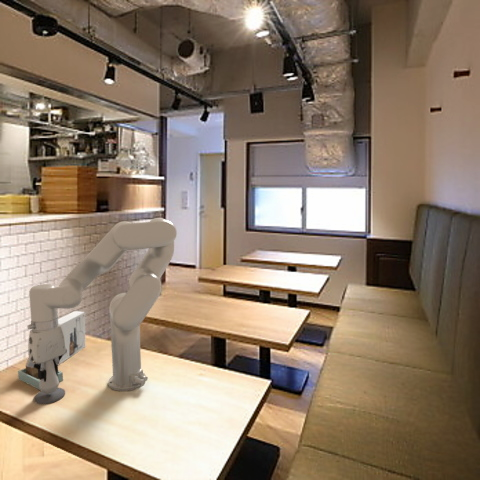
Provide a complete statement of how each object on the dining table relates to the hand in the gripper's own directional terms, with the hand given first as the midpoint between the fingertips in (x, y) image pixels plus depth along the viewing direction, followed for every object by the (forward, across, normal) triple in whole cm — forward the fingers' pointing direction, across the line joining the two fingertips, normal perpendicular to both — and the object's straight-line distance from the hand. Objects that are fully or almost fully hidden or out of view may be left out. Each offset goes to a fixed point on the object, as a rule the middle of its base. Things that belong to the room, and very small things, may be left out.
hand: (48, 377), depth 122 cm
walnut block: (+7, +4, +16) cm, 18 cm away
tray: (+7, +4, +13) cm, 15 cm away
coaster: (+7, 0, 0) cm, 7 cm away
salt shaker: (+5, 0, 0) cm, 5 cm away
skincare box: (+7, +20, +22) cm, 31 cm away
